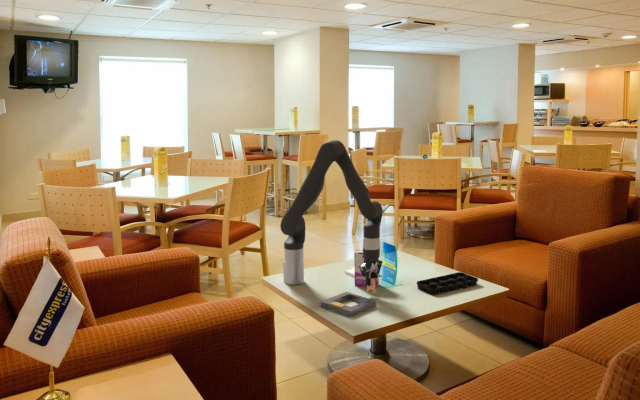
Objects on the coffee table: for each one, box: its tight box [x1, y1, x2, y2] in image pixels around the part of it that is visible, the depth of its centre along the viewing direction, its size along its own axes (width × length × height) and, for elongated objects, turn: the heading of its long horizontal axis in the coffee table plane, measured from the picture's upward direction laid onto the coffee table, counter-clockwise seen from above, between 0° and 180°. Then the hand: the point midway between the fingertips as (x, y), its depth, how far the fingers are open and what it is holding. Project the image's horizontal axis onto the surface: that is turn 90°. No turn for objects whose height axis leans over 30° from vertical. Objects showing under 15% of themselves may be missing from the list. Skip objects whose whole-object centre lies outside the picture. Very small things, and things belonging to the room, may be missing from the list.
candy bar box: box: [354, 249, 380, 288], centre depth 258 cm, size 11×5×16 cm, turn 76°
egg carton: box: [416, 271, 479, 296], centre depth 255 cm, size 18×30×4 cm, turn 132°
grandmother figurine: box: [363, 265, 380, 293], centre depth 242 cm, size 8×4×13 cm, turn 74°
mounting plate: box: [344, 266, 380, 279], centre depth 275 cm, size 18×13×2 cm
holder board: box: [319, 291, 377, 318], centre depth 231 cm, size 17×16×3 cm
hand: (370, 284), depth 243 cm, fingers closed on grandmother figurine, 3 cm apart
